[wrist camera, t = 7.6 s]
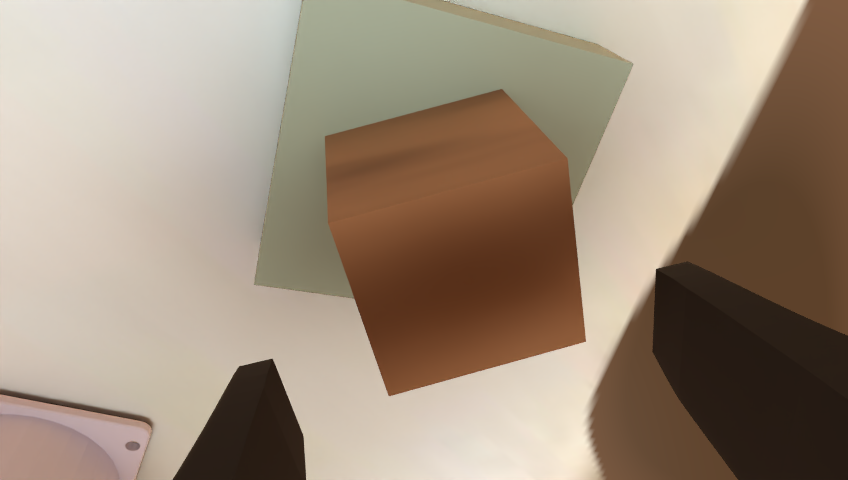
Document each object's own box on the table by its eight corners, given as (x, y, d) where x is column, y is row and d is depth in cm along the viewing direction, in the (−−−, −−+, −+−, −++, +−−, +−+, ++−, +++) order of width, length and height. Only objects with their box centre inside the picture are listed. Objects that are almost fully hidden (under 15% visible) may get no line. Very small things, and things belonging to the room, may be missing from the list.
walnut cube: (525, 240, 19) (585, 341, 15) (372, 282, 19) (389, 396, 15) (501, 88, 16) (568, 158, 12) (324, 136, 16) (328, 223, 12)
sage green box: (499, 273, 23) (522, 321, 21) (261, 236, 21) (254, 284, 18) (591, 40, 19) (633, 64, 17) (308, -39, 17) (308, -27, 14)
